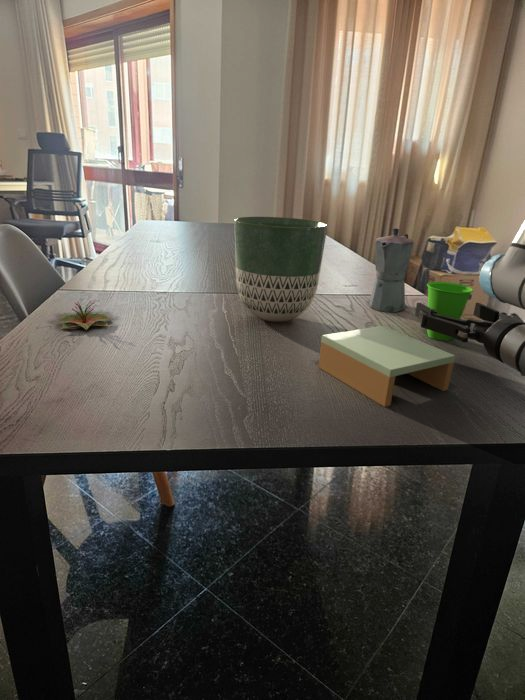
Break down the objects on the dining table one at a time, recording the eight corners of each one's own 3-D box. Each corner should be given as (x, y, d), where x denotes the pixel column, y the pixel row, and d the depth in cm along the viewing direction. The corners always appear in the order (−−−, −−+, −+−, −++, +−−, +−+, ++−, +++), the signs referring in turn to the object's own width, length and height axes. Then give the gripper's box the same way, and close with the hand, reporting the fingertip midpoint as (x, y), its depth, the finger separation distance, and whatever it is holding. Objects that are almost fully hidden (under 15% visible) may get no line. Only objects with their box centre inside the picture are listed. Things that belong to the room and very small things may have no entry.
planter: (313, 337, 96) (324, 230, 88) (221, 326, 99) (224, 222, 91) (320, 311, 114) (329, 220, 106) (242, 303, 117) (245, 214, 109)
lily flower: (54, 316, 99) (51, 295, 97) (113, 313, 103) (112, 293, 101) (52, 335, 88) (49, 312, 87) (118, 331, 93) (116, 308, 91)
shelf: (447, 390, 75) (455, 355, 73) (384, 407, 68) (391, 369, 66) (377, 355, 88) (382, 325, 86) (318, 367, 81) (321, 334, 79)
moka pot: (356, 309, 118) (367, 227, 110) (379, 298, 130) (390, 224, 122) (393, 317, 113) (407, 232, 106) (413, 305, 125) (427, 228, 118)
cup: (452, 347, 95) (463, 294, 91) (410, 335, 100) (419, 285, 96) (468, 337, 101) (479, 288, 97) (428, 327, 107) (437, 279, 103)
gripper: (446, 367, 77) (389, 326, 96) (573, 363, 82) (495, 325, 101) (455, 324, 74) (394, 291, 94) (586, 322, 79) (503, 291, 99)
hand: (447, 308), depth 98 cm, fingers open, 13 cm apart
